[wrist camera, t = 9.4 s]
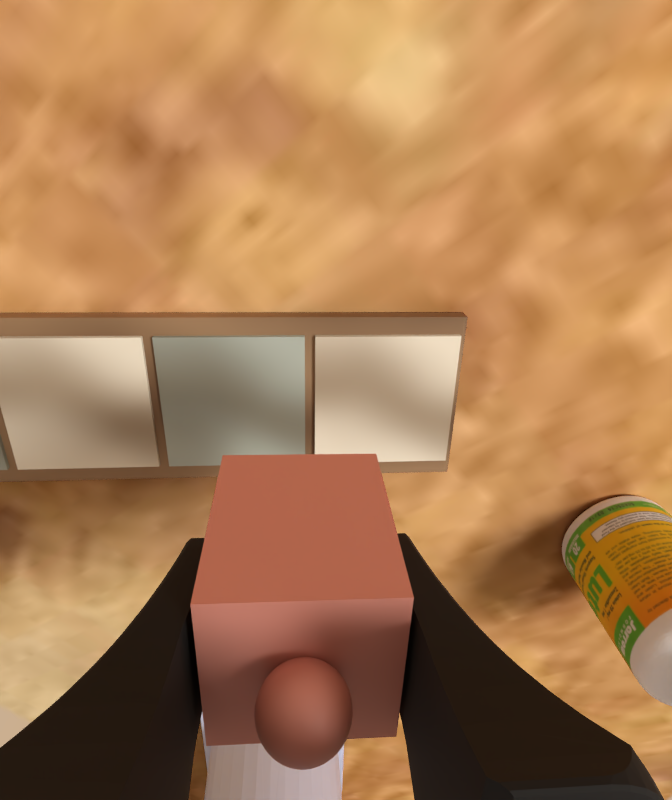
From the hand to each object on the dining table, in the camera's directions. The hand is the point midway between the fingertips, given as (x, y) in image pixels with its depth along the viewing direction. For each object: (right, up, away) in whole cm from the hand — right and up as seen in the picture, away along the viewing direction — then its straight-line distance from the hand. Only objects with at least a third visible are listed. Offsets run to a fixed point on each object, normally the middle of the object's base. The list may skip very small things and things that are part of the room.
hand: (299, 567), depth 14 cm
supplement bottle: (+15, -3, +14) cm, 20 cm away
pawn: (0, +1, +2) cm, 2 cm away
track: (-6, +4, +8) cm, 11 cm away
